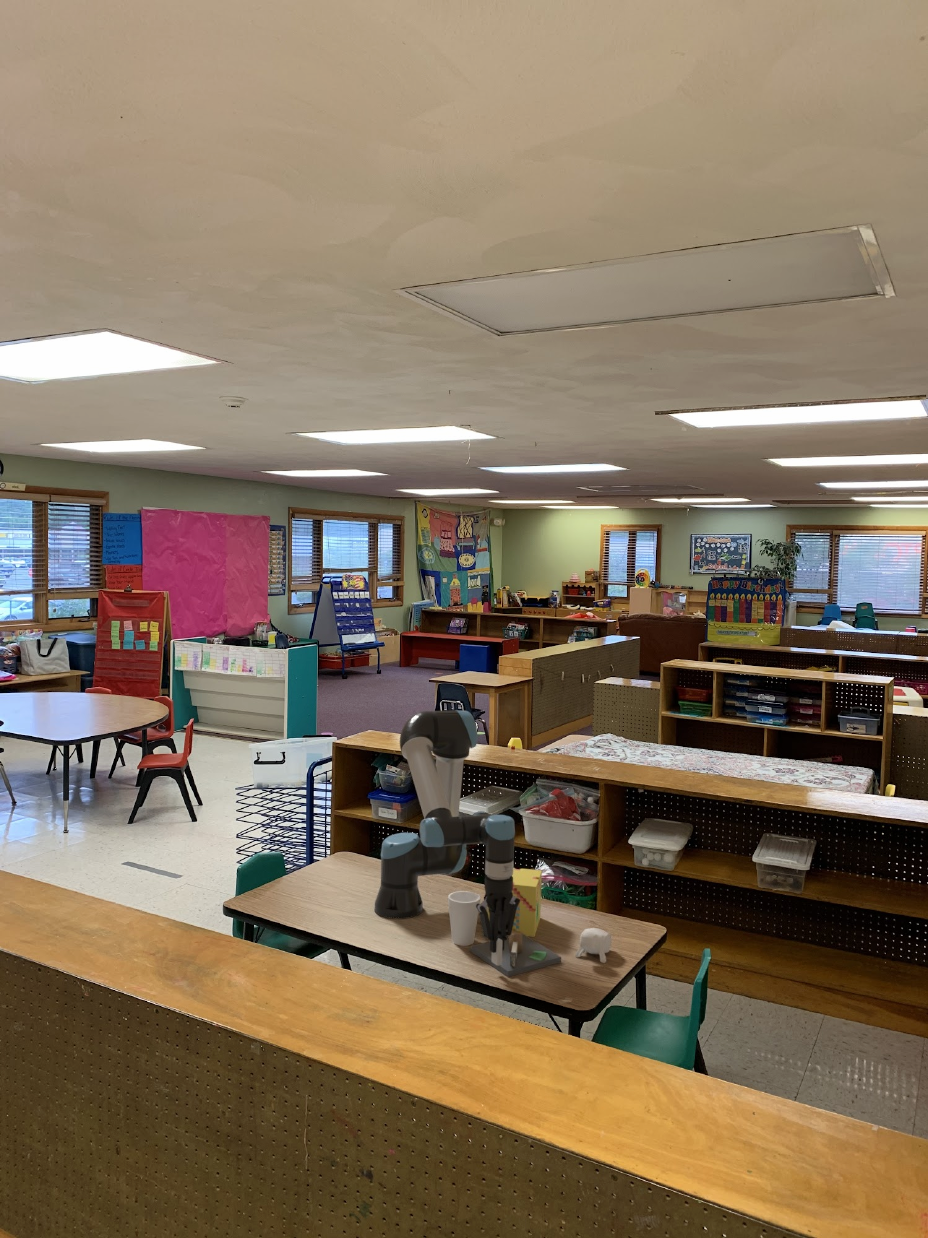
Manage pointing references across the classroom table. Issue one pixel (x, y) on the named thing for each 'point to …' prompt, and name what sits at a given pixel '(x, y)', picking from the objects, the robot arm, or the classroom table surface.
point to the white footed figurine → (594, 943)
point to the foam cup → (463, 916)
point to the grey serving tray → (519, 956)
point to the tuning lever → (515, 946)
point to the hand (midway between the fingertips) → (496, 963)
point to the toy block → (526, 900)
